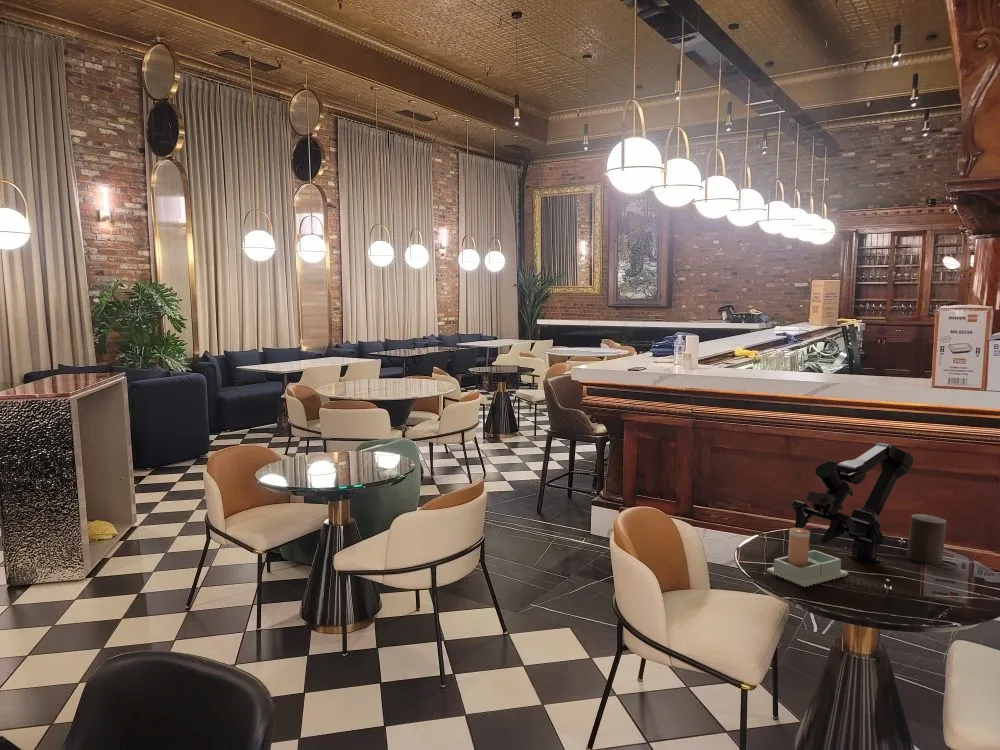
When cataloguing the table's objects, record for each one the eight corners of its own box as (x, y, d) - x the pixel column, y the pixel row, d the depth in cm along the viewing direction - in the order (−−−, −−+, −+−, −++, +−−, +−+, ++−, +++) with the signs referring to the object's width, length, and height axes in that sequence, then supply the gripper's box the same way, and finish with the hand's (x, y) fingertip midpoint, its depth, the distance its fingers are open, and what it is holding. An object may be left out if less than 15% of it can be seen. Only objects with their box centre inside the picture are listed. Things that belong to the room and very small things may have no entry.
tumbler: (807, 571, 207) (810, 529, 205) (806, 578, 202) (809, 535, 200) (787, 568, 209) (790, 526, 208) (786, 574, 204) (789, 531, 203)
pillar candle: (915, 563, 219) (920, 517, 217) (901, 553, 228) (906, 508, 227) (948, 566, 217) (953, 520, 216) (933, 555, 227) (937, 511, 226)
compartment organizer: (809, 561, 218) (810, 547, 218) (848, 575, 207) (849, 560, 207) (767, 571, 209) (767, 557, 208) (804, 587, 197) (805, 571, 197)
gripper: (796, 474, 216) (770, 514, 211) (851, 488, 199) (825, 531, 195) (811, 496, 220) (786, 535, 216) (866, 511, 204) (840, 554, 200)
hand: (808, 538), depth 207 cm, fingers open, 9 cm apart
